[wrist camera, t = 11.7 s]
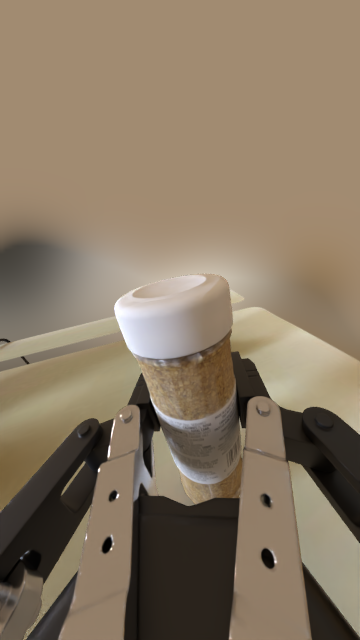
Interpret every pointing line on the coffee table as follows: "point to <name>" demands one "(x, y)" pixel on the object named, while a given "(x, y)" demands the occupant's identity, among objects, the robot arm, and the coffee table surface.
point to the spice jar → (189, 376)
